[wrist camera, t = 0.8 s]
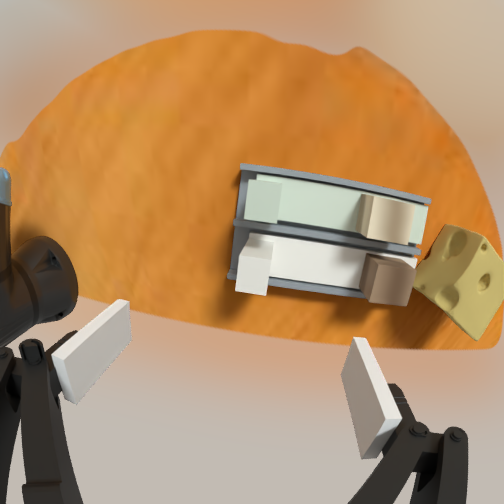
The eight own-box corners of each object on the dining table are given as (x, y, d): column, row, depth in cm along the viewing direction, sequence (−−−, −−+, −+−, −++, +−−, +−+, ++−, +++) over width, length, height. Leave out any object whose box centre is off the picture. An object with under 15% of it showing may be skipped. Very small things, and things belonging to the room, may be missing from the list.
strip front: (252, 215, 35) (242, 226, 26) (257, 174, 34) (249, 171, 25) (417, 242, 34) (451, 260, 25) (424, 205, 32) (461, 214, 24)
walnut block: (358, 286, 35) (368, 302, 30) (366, 253, 34) (378, 264, 29) (392, 291, 35) (406, 306, 30) (401, 258, 33) (417, 270, 29)
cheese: (404, 279, 36) (436, 309, 27) (445, 217, 34) (487, 230, 24) (444, 313, 37) (476, 345, 27) (482, 258, 34) (521, 277, 24)
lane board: (230, 272, 38) (227, 278, 36) (243, 164, 35) (240, 163, 32) (400, 296, 37) (407, 303, 34) (422, 197, 33) (431, 199, 31)
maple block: (355, 229, 33) (366, 237, 28) (361, 193, 32) (374, 195, 27) (391, 236, 33) (407, 245, 28) (398, 201, 32) (415, 205, 27)
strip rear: (245, 270, 37) (234, 297, 28) (250, 231, 36) (240, 247, 27) (405, 292, 35) (433, 321, 27) (414, 257, 34) (447, 279, 25)
